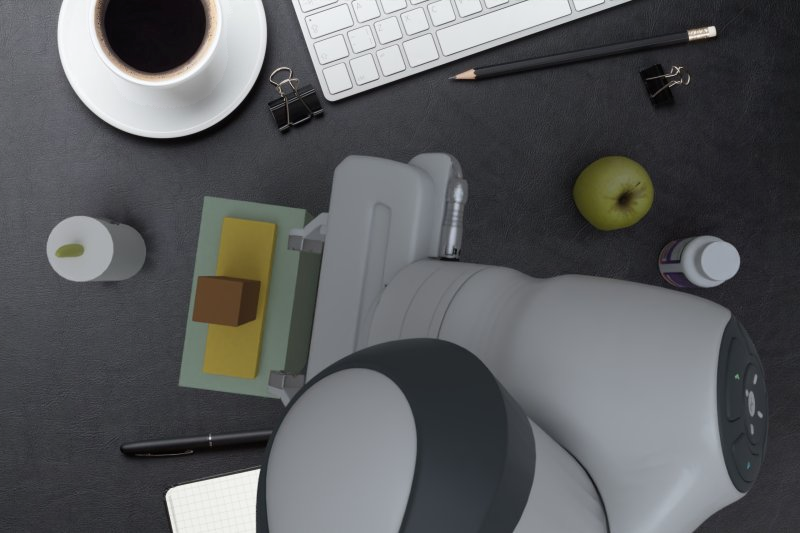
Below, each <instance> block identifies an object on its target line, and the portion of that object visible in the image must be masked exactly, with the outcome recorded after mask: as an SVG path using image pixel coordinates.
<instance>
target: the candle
mask: <svg viewBox="0 0 800 533" xmlns="http://www.w3.org/2000/svg"><path fill="white" fill-rule="evenodd" d="M46 256H47V259H48V263H49V265H50V266H51V267H52V269H53V271H55V272H56V273H57V274H58V275H59V276H61V277H62V278H64V279H66V280H68V281H72V282H77V283H78V282H81V283H82V282H116V281H117V282H119V281H121V282H123V281H125V280H128V279H131V278H132V277H134V276H136V275H137V274H138V273H139V271H141V269H142V267H143V266H144V264H145V263H146V262H145V261H146V257H147V247H146V242H145V239H144V238H143V237H142V235H141V234H140V232H138V230H136V229H135V228H134V227H133V226H130V225H129V224H125V223H122V222H121V223H120V222H119V221H116V220H115V219H111V218H109V217H106V216H102V215H101V216H100V215H97V217H92V216H86V215H74V216H70V217H67V218H65V219H63V220H62V221H60V222H58V223H57V225H55V227H53V229H52V230H51V232H50V234H49V236H48V238H47V242H46Z"/></svg>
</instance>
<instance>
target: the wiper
mask: <svg viewBox="0 0 800 533" xmlns="http://www.w3.org/2000/svg"><path fill="white" fill-rule="evenodd" d="M277 229H278V225H277V224H275V223H268V222H260V221H253V220H246V219H238V218H231V217H223V224H222V231H221V238H220V246H219V253H218V260H217V268H216V275H215V276H198V280H197V288H196V295H195V302H194V309H193V317H192V321H194V322H201V323H209V326H208V333H207V341H206V348H205V355H204V363H203V370H202V372H203V373H208V374H216V375H224V376H232V377H240V378H248V379H255V378H256V377H257V376H258V369H259V361H260V354H261V347H262V339H263V332H264V325H265V317H266V310H267V302H268V295H269V288H270V280H271V273H272V266H273V258H274V251H275V243H276V236H277Z"/></svg>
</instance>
